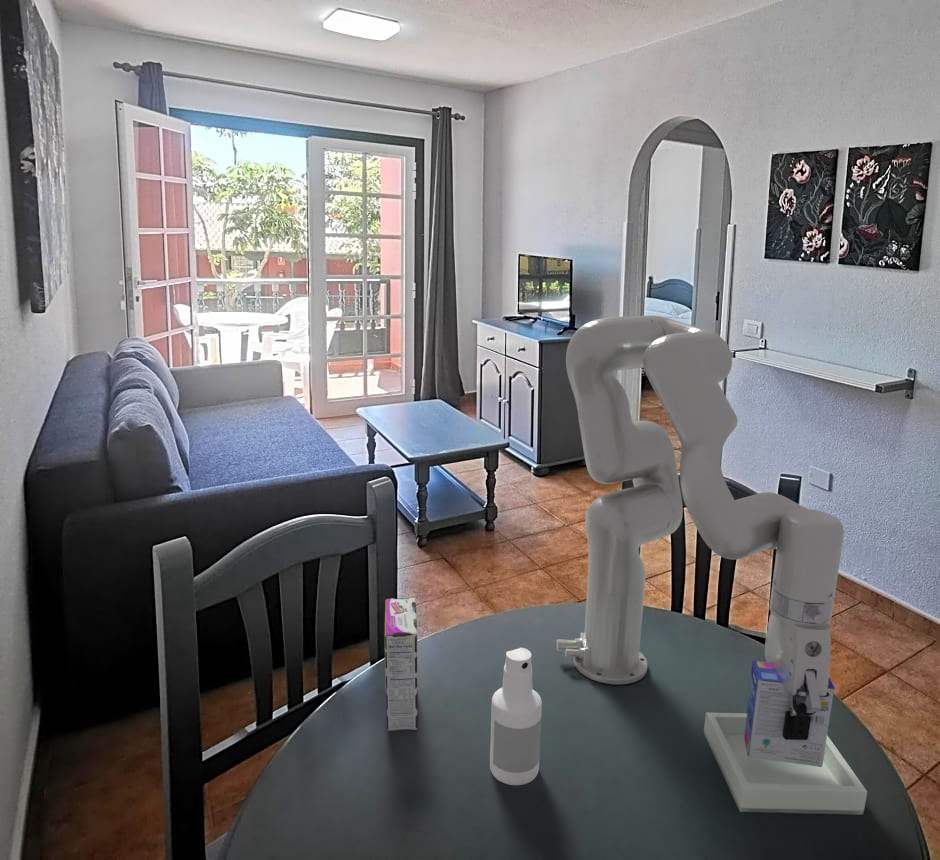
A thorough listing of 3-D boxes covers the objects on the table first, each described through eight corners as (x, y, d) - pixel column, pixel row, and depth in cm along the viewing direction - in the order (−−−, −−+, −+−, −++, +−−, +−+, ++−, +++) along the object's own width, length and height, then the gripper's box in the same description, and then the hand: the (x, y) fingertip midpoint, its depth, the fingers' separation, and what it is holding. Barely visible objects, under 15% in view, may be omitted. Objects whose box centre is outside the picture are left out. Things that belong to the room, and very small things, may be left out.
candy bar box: (385, 689, 121) (384, 597, 117) (416, 688, 122) (416, 596, 118) (384, 733, 111) (383, 633, 107) (418, 731, 111) (418, 632, 107)
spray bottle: (505, 793, 99) (509, 673, 95) (480, 761, 105) (484, 647, 101) (548, 777, 102) (554, 660, 98) (522, 747, 108) (527, 636, 104)
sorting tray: (739, 811, 97) (742, 788, 96) (703, 732, 112) (705, 712, 111) (863, 814, 97) (867, 791, 96) (809, 735, 112) (813, 714, 111)
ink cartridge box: (814, 742, 105) (829, 651, 102) (824, 769, 100) (840, 674, 96) (741, 733, 107) (753, 643, 103) (747, 758, 102) (760, 665, 98)
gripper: (862, 637, 90) (841, 766, 94) (802, 575, 106) (786, 687, 111) (800, 636, 90) (782, 764, 94) (749, 574, 106) (736, 686, 111)
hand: (784, 721), depth 102 cm, fingers closed on ink cartridge box, 6 cm apart
